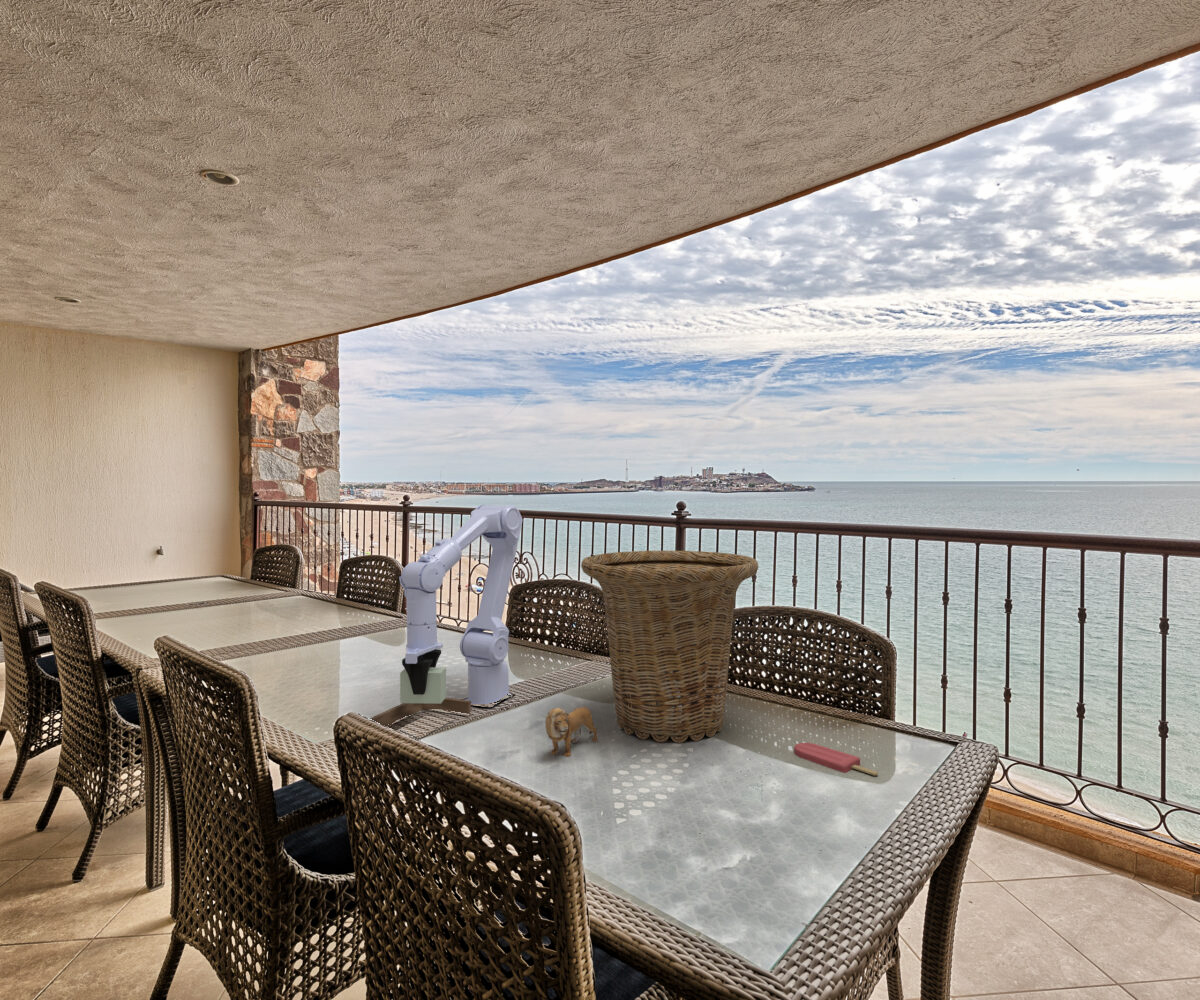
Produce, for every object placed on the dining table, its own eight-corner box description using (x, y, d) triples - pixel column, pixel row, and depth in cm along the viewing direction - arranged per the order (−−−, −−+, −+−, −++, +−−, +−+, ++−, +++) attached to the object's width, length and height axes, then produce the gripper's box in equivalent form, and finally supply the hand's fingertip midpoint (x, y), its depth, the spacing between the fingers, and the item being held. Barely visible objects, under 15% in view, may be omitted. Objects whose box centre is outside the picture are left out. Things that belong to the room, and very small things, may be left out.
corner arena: (422, 708, 144) (421, 694, 144) (471, 715, 139) (471, 701, 139) (370, 733, 129) (370, 718, 129) (423, 742, 124) (423, 726, 124)
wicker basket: (761, 702, 145) (761, 551, 145) (754, 768, 112) (754, 571, 111) (607, 690, 155) (606, 549, 154) (558, 747, 121) (557, 566, 121)
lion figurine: (564, 766, 113) (563, 714, 113) (538, 761, 115) (537, 709, 115) (603, 737, 126) (603, 690, 126) (579, 732, 129) (578, 686, 128)
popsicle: (869, 774, 106) (788, 747, 118) (869, 783, 107) (788, 756, 118) (885, 764, 110) (804, 739, 121) (885, 774, 110) (804, 748, 121)
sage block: (406, 696, 134) (406, 667, 134) (446, 697, 134) (446, 667, 134) (400, 703, 130) (400, 672, 130) (440, 703, 130) (440, 673, 130)
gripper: (431, 630, 124) (432, 702, 124) (451, 615, 139) (451, 679, 139) (394, 630, 124) (394, 702, 125) (417, 615, 139) (418, 679, 139)
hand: (422, 690), depth 132 cm, fingers closed on sage block, 4 cm apart
